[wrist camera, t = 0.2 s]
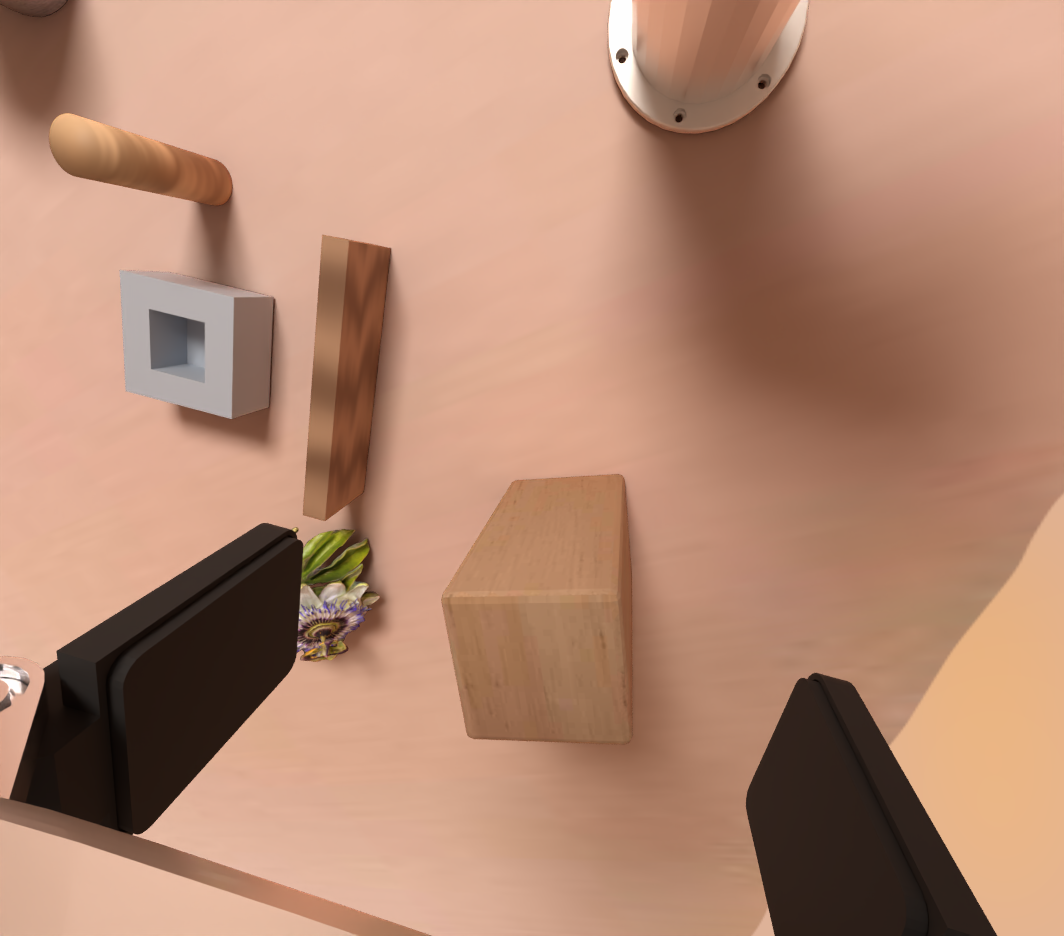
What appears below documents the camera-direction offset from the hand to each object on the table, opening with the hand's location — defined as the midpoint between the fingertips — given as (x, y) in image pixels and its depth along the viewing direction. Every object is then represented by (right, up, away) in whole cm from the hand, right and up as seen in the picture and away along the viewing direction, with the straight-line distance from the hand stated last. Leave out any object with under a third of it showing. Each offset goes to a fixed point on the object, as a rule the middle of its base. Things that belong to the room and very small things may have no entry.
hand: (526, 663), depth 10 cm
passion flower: (-20, -7, +45) cm, 50 cm away
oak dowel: (-26, +27, +35) cm, 52 cm away
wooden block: (+4, -2, +39) cm, 39 cm away
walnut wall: (-15, +12, +38) cm, 42 cm away
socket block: (-28, +15, +39) cm, 50 cm away
